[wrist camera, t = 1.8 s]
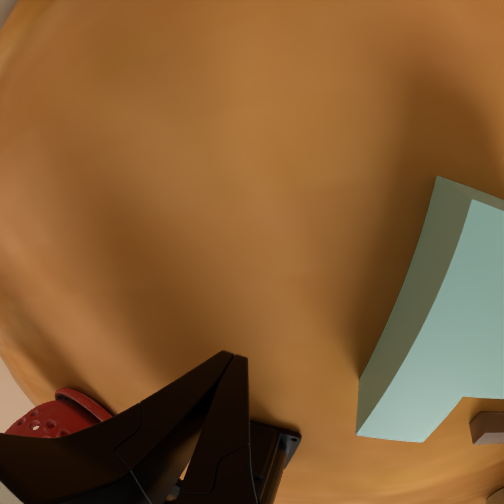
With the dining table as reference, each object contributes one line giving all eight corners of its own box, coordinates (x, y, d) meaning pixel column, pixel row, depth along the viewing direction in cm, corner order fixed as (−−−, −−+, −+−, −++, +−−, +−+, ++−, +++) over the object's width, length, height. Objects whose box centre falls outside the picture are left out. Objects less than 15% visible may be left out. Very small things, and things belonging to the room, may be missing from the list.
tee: (505, 398, 14) (517, 441, 10) (359, 380, 16) (355, 435, 13) (591, 244, 8) (628, 276, 5) (436, 175, 11) (472, 199, 7)
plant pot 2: (89, 375, 25) (18, 456, 15) (161, 454, 29) (115, 530, 18) (42, 373, 31) (-11, 429, 20) (101, 440, 34) (60, 495, 24)
